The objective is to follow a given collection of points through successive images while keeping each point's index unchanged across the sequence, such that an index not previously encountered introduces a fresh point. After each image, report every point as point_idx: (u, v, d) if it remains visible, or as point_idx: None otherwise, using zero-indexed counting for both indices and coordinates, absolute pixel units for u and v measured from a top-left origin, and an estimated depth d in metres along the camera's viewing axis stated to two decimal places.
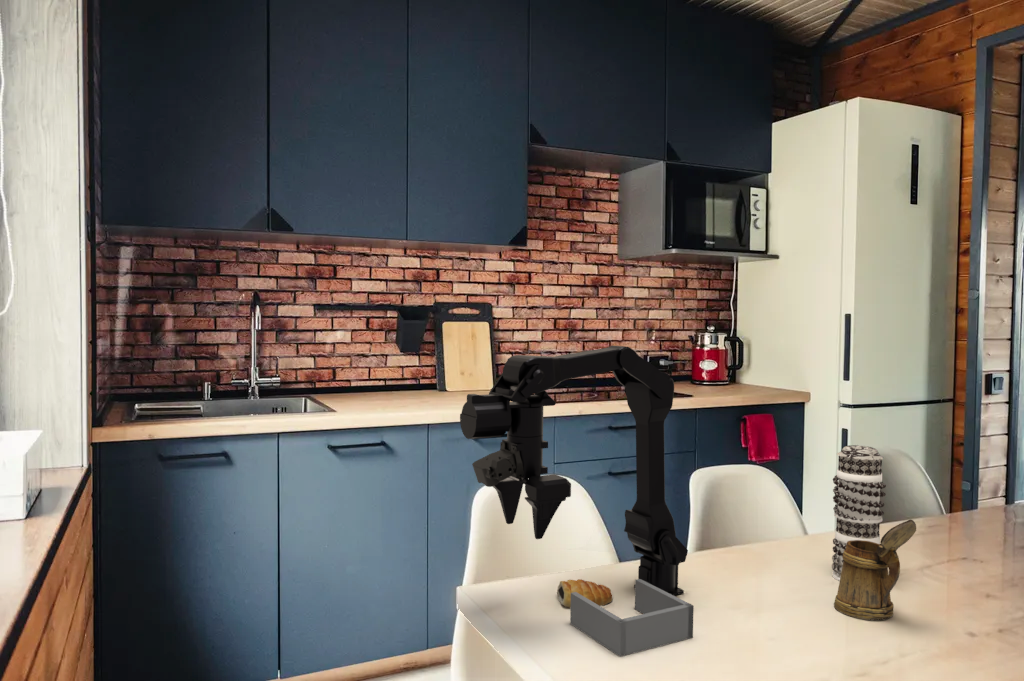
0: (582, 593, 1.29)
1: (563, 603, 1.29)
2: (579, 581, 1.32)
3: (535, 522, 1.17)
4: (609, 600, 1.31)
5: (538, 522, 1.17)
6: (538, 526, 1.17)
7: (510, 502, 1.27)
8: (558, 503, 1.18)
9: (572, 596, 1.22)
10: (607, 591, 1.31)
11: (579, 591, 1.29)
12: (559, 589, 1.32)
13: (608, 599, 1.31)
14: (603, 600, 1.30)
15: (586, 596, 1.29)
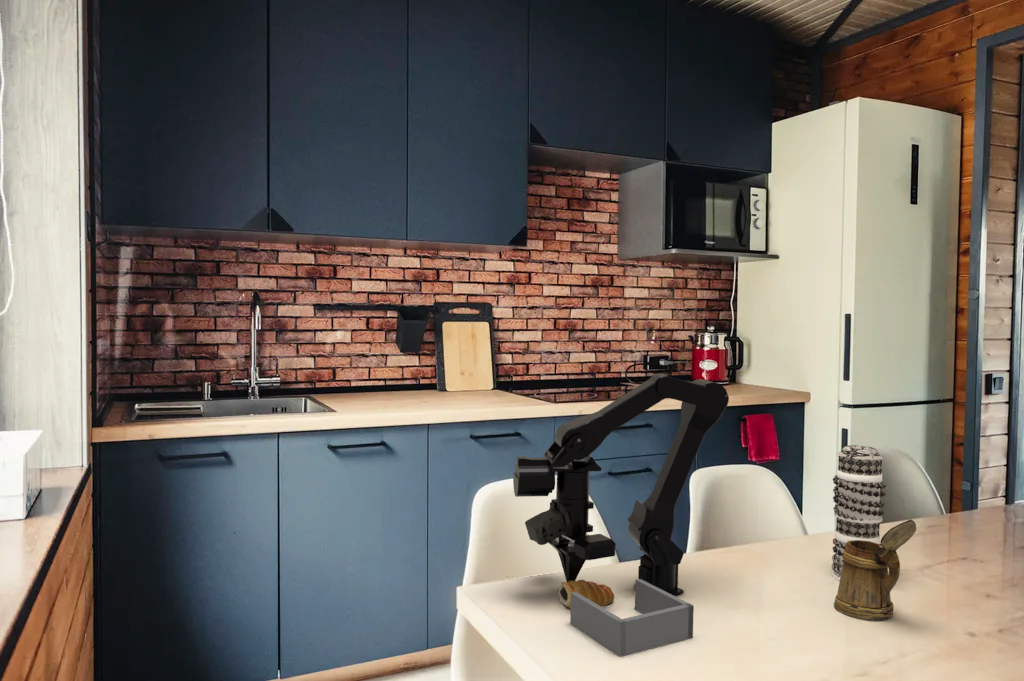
0: (586, 594, 1.28)
1: (567, 604, 1.28)
2: (581, 582, 1.31)
3: (568, 569, 1.33)
4: (611, 600, 1.31)
5: (571, 569, 1.33)
6: (570, 572, 1.33)
7: None
8: None
9: (572, 596, 1.22)
10: (609, 591, 1.31)
11: (583, 592, 1.28)
12: (561, 590, 1.31)
13: (611, 598, 1.30)
14: (606, 599, 1.30)
15: (589, 597, 1.28)
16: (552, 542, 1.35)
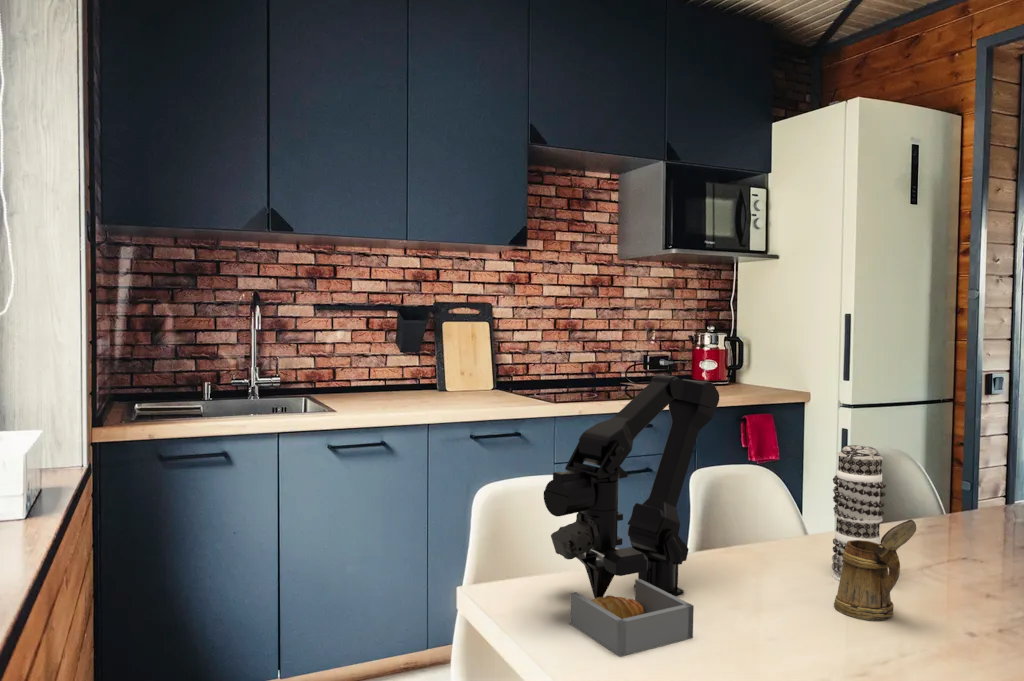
0: (620, 610, 1.22)
1: None
2: (611, 598, 1.24)
3: (596, 585, 1.26)
4: None
5: (599, 584, 1.26)
6: (599, 588, 1.26)
7: None
8: None
9: (572, 596, 1.22)
10: (640, 605, 1.25)
11: (616, 609, 1.22)
12: None
13: None
14: None
15: (624, 613, 1.22)
16: (579, 556, 1.28)
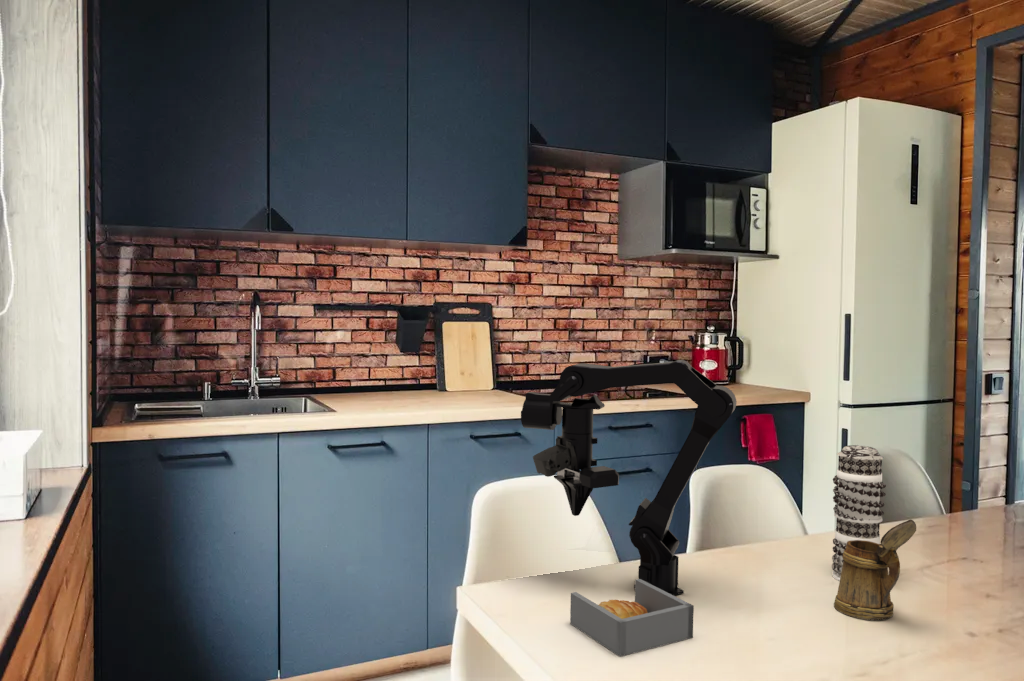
0: (628, 614, 1.20)
1: None
2: (616, 602, 1.23)
3: (574, 501, 1.40)
4: None
5: (576, 501, 1.40)
6: (576, 505, 1.41)
7: None
8: None
9: (572, 596, 1.22)
10: None
11: (625, 613, 1.20)
12: None
13: None
14: None
15: None
16: (558, 477, 1.42)
